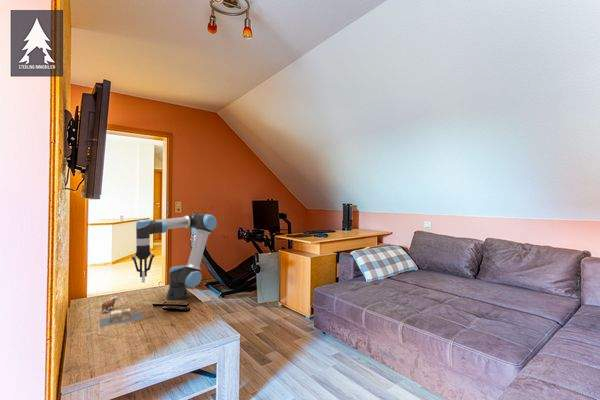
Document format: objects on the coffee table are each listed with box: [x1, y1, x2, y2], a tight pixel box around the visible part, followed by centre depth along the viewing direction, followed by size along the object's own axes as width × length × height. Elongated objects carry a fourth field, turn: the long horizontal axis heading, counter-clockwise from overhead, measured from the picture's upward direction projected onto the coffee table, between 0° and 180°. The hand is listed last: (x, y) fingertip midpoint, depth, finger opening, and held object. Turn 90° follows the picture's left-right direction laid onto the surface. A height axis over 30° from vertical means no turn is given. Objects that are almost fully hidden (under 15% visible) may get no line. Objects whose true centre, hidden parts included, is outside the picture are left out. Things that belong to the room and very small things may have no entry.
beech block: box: [109, 308, 131, 322], centre depth 182 cm, size 5×5×10 cm
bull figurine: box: [101, 295, 120, 314], centre depth 196 cm, size 4×13×8 cm, turn 174°
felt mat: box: [99, 311, 144, 328], centre depth 182 cm, size 22×13×1 cm, turn 123°
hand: (143, 281), depth 188 cm, fingers closed
